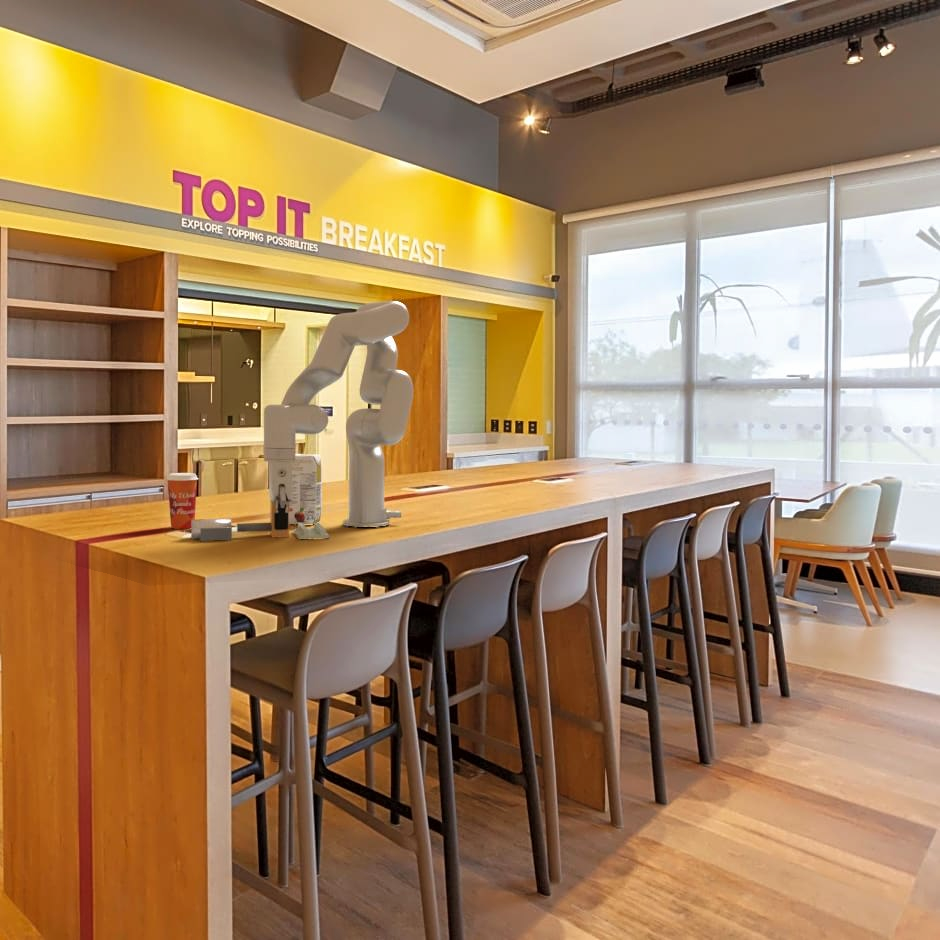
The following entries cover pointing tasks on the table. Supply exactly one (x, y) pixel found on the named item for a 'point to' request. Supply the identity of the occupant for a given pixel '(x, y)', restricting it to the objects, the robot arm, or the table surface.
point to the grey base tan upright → (266, 524)
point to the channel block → (216, 533)
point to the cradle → (310, 531)
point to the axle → (207, 525)
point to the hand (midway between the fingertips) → (279, 526)
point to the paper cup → (182, 499)
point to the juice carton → (306, 489)
